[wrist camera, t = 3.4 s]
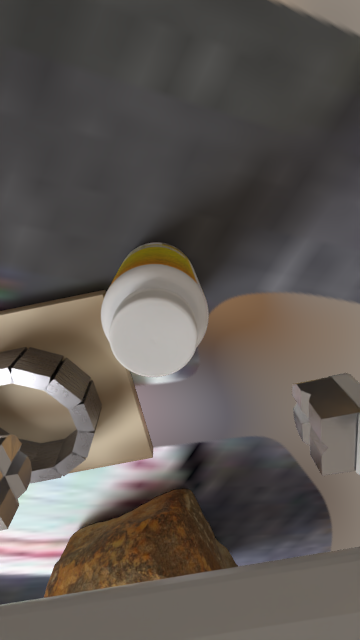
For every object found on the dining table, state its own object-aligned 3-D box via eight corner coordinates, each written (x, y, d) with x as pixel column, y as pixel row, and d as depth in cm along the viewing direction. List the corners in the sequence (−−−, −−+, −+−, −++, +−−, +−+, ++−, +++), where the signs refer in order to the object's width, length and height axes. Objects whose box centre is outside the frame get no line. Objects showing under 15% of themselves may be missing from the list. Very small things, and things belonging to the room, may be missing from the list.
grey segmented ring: (-56, 363, 23) (-86, 386, 20) (77, 336, 23) (65, 356, 20) (1, 461, 27) (-18, 492, 24) (114, 440, 27) (109, 468, 24)
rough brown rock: (266, 455, 31) (341, 648, 17) (262, 568, 37) (317, 789, 22) (41, 468, 32) (-69, 671, 17) (68, 579, 37) (1, 806, 22)
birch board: (-99, 331, 23) (-112, 337, 22) (105, 289, 23) (102, 294, 22) (-9, 477, 29) (-16, 488, 28) (153, 447, 29) (152, 457, 28)
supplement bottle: (106, 259, 22) (64, 310, 13) (176, 228, 21) (187, 255, 12) (140, 324, 24) (125, 408, 15) (205, 297, 24) (233, 366, 14)
